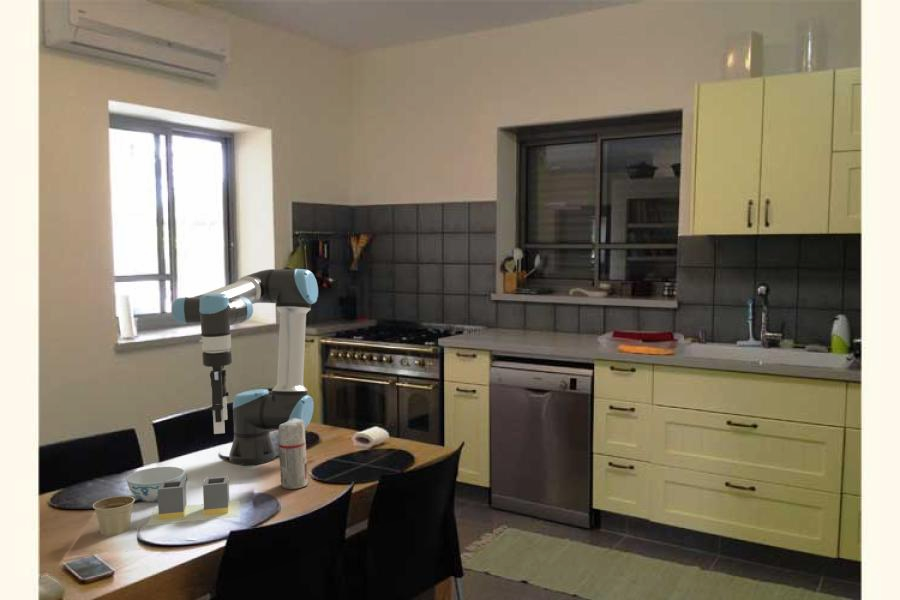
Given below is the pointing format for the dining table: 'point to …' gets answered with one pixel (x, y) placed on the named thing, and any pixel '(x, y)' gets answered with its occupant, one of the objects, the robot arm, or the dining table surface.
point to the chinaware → (152, 481)
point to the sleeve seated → (172, 499)
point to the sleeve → (216, 495)
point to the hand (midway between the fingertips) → (221, 426)
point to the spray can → (293, 454)
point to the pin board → (194, 514)
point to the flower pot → (114, 514)
